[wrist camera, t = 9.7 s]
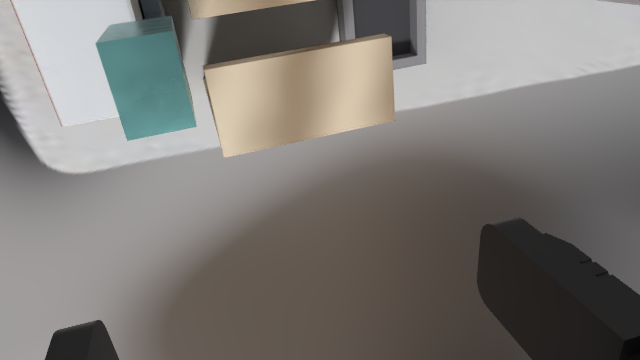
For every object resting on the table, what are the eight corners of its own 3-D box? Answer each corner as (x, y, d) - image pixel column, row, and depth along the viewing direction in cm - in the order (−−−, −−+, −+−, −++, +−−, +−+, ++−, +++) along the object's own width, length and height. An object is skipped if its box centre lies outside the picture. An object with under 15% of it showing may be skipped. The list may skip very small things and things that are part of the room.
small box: (46, -34, 31) (-4, -28, 22) (133, -45, 32) (119, -44, 23) (87, 83, 35) (59, 130, 26) (164, 70, 36) (163, 110, 27)
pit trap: (415, -68, 37) (425, -69, 35) (417, 59, 41) (426, 63, 40) (331, -57, 35) (337, -57, 34) (342, 74, 40) (349, 78, 39)
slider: (159, -54, 32) (149, -60, 15) (191, 76, 36) (212, 190, 19) (121, -49, 31) (64, -49, 14) (157, 81, 36) (148, 205, 18)
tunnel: (307, -96, 34) (384, -123, 22) (325, 68, 39) (394, 120, 27) (166, -80, 32) (165, -99, 20) (206, 91, 37) (224, 157, 25)
